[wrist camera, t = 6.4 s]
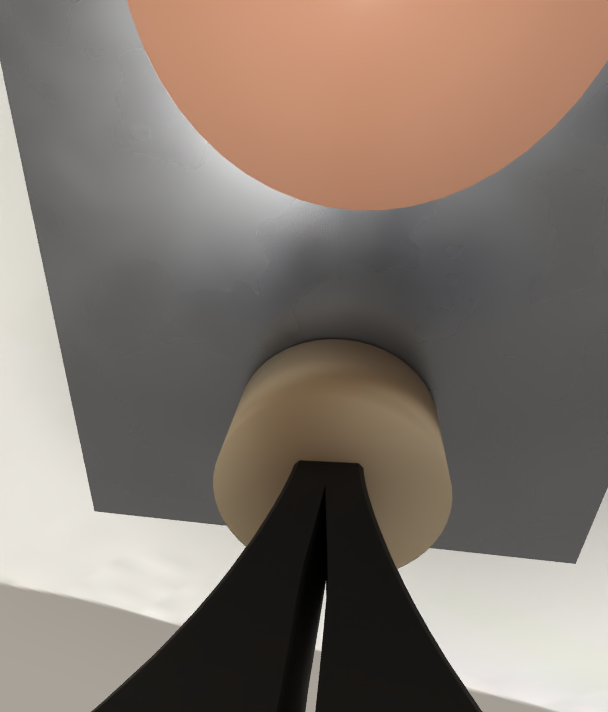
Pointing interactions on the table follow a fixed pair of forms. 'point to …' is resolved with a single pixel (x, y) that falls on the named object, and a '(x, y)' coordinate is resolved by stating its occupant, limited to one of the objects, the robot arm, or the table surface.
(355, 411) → the knob
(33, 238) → the table surface
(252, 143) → the knob middle
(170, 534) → the table surface
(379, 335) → the knob panel
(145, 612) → the table surface
